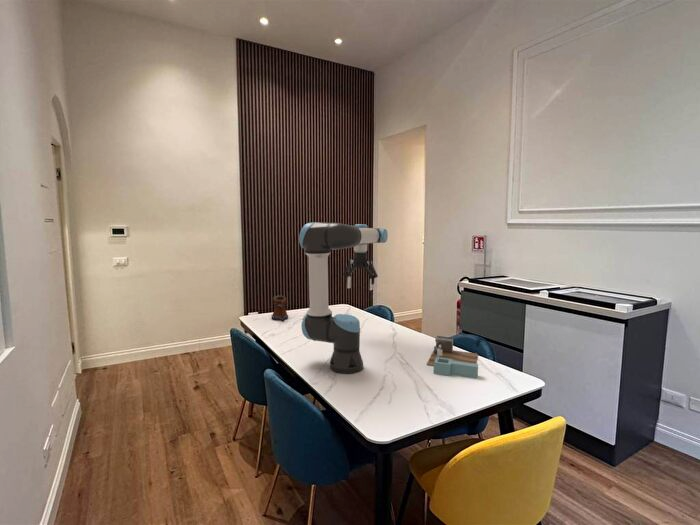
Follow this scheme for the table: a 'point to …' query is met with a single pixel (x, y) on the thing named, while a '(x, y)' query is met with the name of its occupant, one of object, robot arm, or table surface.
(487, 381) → the table surface
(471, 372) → the link
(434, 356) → the board
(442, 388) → the table surface
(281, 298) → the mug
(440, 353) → the peg
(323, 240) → the robot arm
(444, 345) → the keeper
